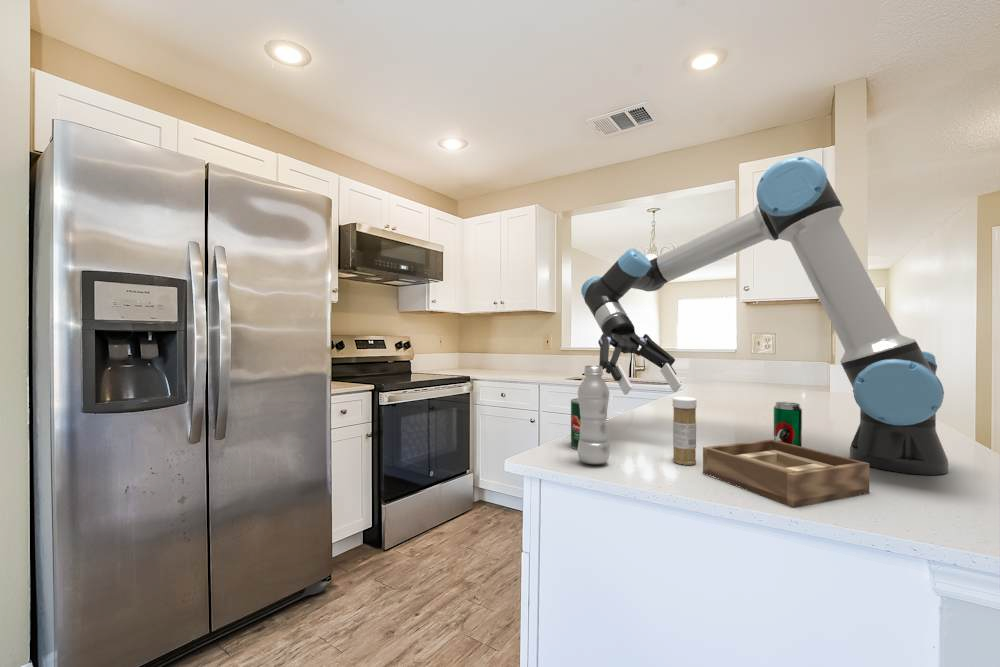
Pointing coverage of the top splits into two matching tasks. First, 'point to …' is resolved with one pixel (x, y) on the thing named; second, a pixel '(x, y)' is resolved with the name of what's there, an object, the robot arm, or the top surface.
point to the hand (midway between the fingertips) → (653, 389)
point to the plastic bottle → (593, 417)
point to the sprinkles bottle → (684, 430)
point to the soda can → (788, 423)
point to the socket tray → (787, 471)
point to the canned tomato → (575, 423)
